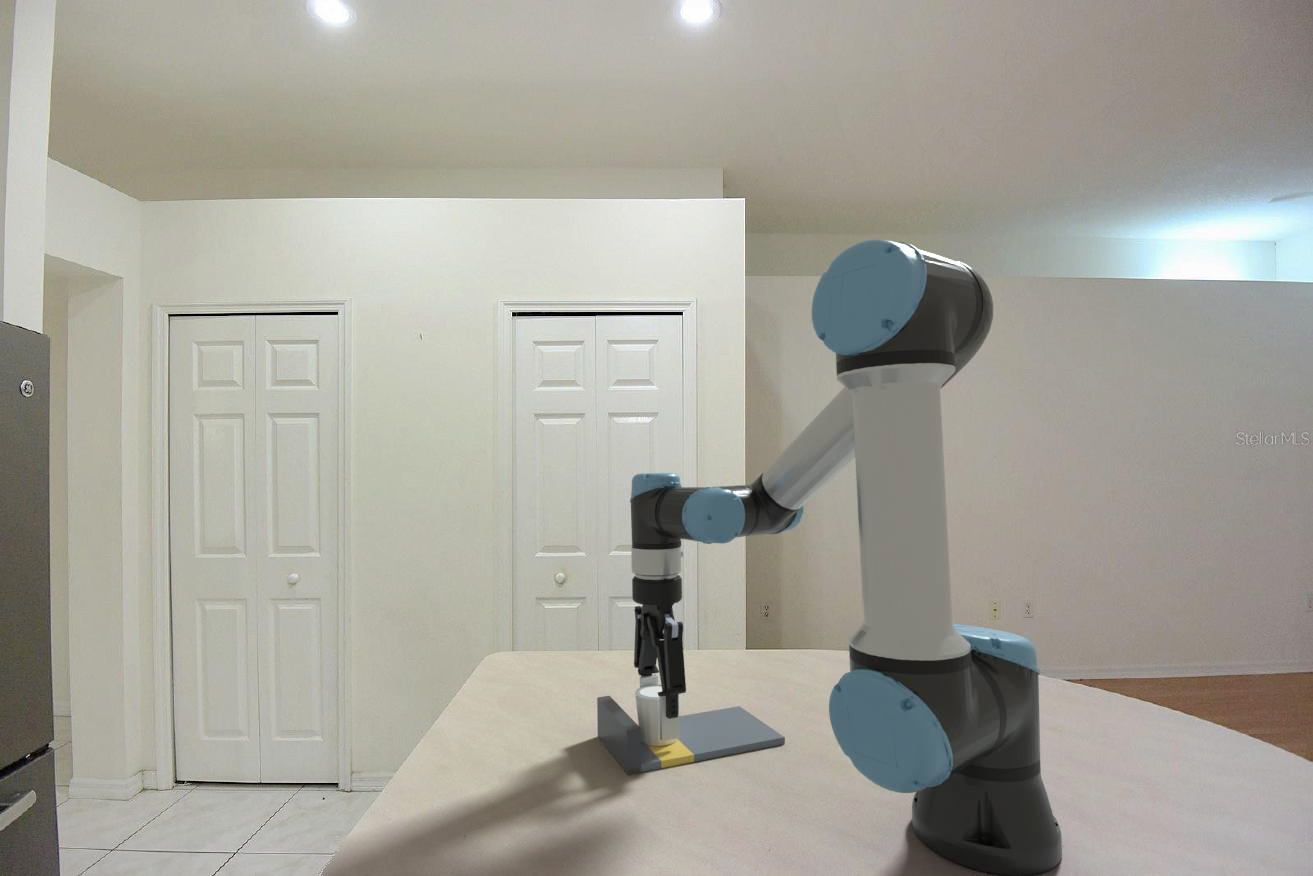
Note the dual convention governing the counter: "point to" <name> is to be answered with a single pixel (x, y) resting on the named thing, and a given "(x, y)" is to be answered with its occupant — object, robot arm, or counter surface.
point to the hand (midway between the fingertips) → (659, 728)
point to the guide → (682, 737)
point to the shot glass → (650, 715)
